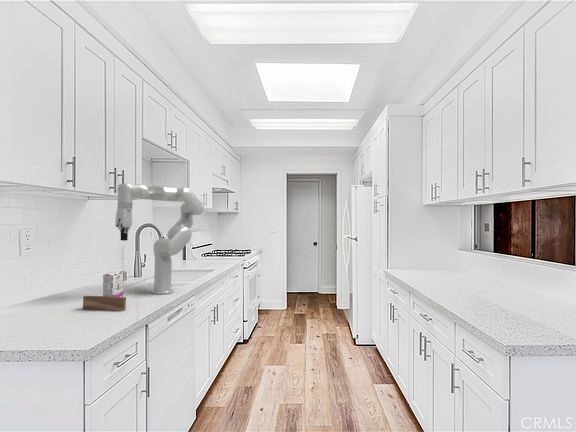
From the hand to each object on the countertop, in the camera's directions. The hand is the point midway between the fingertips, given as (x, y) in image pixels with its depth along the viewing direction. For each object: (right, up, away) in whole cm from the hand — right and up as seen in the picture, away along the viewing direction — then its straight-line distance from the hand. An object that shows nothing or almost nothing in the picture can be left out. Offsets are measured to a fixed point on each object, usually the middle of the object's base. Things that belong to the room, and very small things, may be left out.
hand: (124, 240), depth 220 cm
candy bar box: (+4, -31, -23) cm, 39 cm away
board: (+3, -31, -29) cm, 43 cm away
